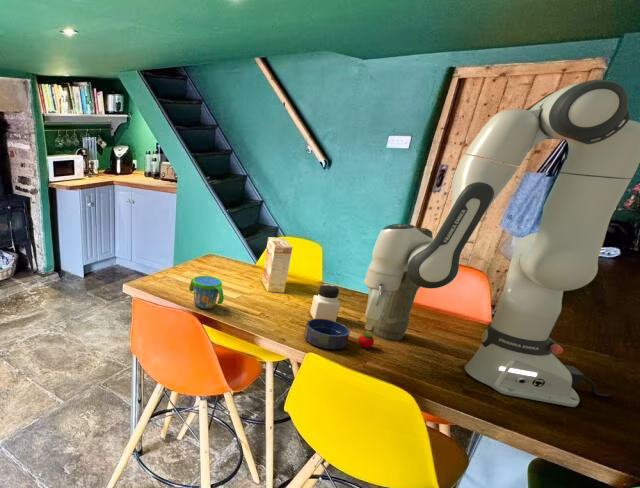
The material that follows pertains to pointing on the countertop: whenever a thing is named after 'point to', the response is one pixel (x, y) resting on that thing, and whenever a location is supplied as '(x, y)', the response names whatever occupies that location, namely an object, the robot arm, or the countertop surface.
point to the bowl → (326, 333)
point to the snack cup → (206, 291)
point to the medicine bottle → (325, 303)
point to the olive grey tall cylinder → (398, 307)
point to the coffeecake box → (276, 264)
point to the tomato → (366, 340)
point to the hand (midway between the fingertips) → (368, 323)
